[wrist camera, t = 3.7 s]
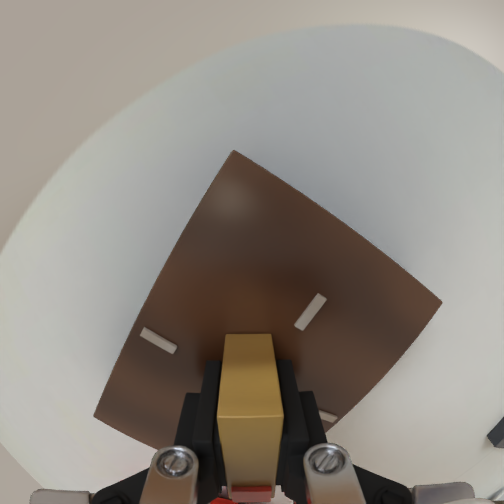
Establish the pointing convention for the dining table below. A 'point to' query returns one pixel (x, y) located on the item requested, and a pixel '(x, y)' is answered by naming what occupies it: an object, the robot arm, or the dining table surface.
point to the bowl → (498, 502)
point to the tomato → (222, 501)
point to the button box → (497, 435)
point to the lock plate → (264, 305)
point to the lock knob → (250, 417)
